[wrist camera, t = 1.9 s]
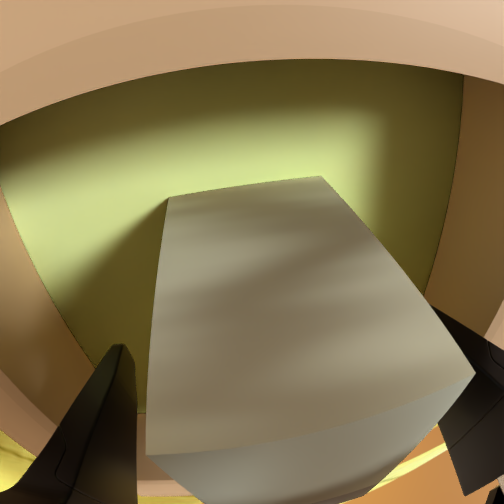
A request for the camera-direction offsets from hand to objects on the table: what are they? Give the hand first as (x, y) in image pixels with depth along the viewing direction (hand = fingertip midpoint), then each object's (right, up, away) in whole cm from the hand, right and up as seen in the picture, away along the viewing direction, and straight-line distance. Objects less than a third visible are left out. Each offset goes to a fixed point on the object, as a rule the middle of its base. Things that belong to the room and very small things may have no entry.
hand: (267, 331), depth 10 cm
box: (0, +1, +2) cm, 2 cm away
